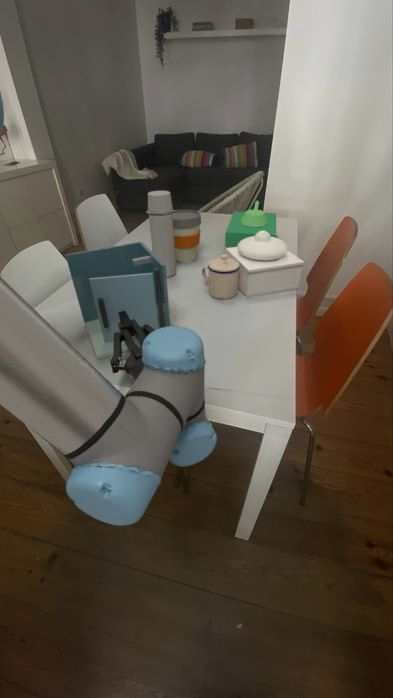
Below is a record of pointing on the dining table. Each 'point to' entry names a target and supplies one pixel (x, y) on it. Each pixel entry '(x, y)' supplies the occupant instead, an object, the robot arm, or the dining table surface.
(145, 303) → the shower door
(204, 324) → the dining table surface
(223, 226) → the dining table surface
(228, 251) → the butter dish
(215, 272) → the teacup with lid
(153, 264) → the shower
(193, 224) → the reusable coffee cup
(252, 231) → the toy tank
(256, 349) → the dining table surface
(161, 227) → the water bottle
